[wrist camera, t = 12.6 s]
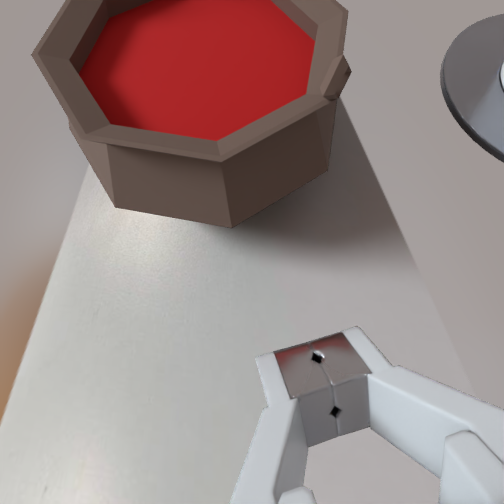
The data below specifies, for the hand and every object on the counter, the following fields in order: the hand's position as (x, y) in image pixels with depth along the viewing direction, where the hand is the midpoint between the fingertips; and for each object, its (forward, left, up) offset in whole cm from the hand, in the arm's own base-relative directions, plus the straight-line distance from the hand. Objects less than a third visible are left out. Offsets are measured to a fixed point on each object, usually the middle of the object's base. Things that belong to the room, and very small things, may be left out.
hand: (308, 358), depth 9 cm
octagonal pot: (+10, -19, -19) cm, 29 cm away
